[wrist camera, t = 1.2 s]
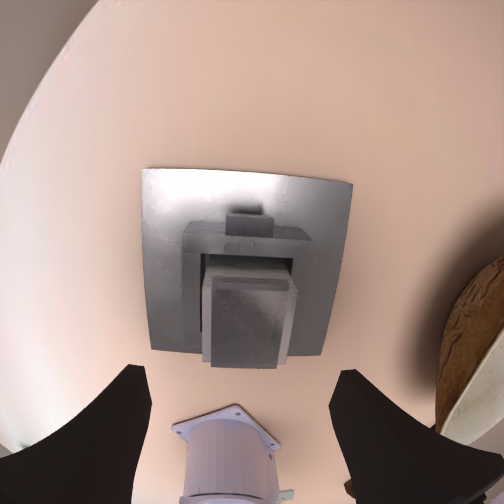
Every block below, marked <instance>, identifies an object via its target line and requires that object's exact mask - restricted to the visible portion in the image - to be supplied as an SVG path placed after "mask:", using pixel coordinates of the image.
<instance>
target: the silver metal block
mask: <svg viewBox="0 0 504 504" xmlns="http://www.w3.org/2000/svg"><path fill="white" fill-rule="evenodd" d="M297 294H298V291H297V289H296V287H295V285H294V283H293V281H292V278H291V276H290V274H289V272H288V270H287V268H286V266H285V264H284V262H283V260H282V258H280V257H261V256H243V255H224V254H210V255H209V259H208V264H207V268H206V273H205V277H204V281H203V286H202V355H203V362H211V367H221V368H255V369H276V368H277V364H285V362H286V357H287V352H288V346H289V341H290V335H291V330H292V324H293V318H294V312H295V306H296V300H297Z"/></svg>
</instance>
